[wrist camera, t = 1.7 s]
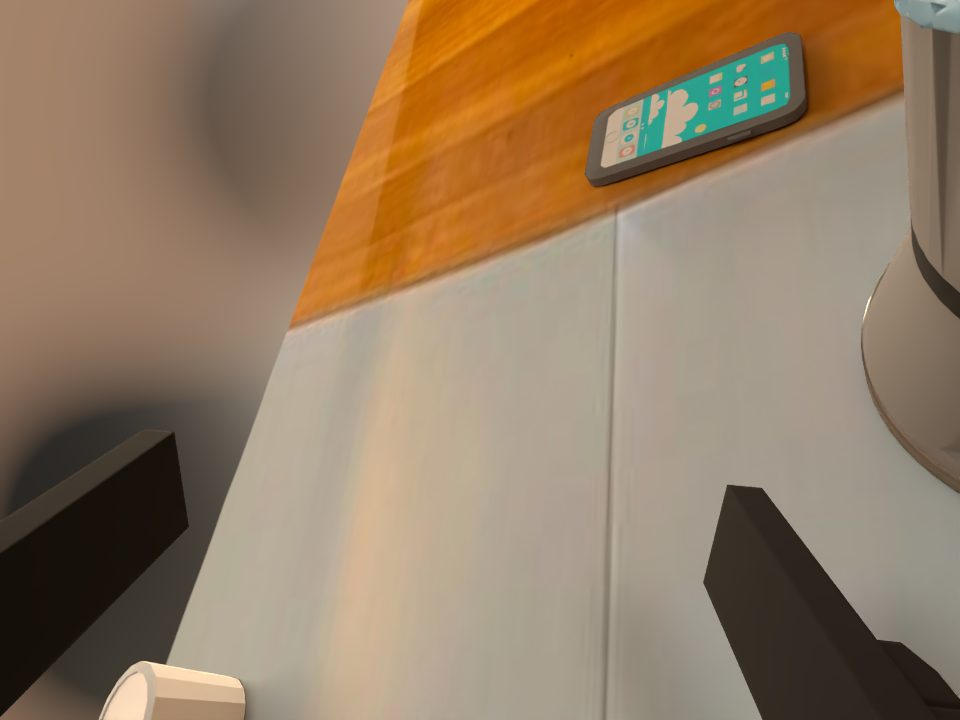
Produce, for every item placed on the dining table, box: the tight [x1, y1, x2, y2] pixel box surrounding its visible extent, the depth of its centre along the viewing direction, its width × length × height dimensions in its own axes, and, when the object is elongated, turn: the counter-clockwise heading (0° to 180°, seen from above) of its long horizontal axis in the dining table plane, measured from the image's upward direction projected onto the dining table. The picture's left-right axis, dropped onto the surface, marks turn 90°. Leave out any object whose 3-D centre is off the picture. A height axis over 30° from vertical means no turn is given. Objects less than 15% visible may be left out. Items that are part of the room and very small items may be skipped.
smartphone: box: [585, 32, 807, 187], centre depth 38 cm, size 9×1×15 cm
